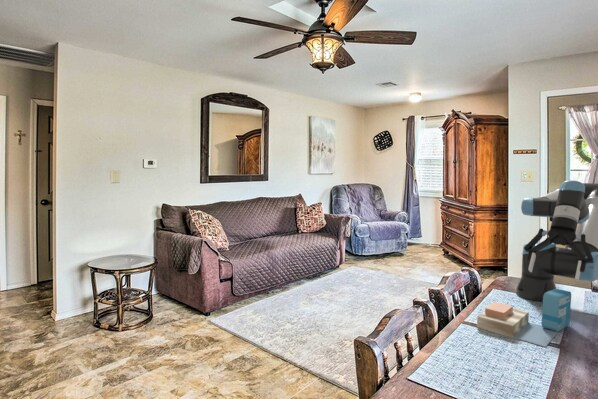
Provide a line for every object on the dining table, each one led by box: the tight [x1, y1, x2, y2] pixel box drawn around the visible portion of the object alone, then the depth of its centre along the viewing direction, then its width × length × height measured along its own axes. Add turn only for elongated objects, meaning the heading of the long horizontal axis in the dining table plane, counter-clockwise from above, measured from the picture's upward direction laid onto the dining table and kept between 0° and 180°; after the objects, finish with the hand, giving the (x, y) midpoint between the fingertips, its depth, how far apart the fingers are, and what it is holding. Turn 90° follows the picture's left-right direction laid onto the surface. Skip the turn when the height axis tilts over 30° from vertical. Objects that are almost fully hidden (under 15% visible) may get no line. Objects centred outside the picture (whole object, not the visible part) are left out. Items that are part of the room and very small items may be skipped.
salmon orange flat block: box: [484, 301, 514, 319], centre depth 130 cm, size 9×6×2 cm, turn 134°
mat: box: [512, 321, 560, 348], centre depth 122 cm, size 17×9×1 cm, turn 134°
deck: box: [476, 307, 530, 339], centre depth 129 cm, size 17×11×4 cm, turn 134°
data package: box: [541, 288, 572, 333], centre depth 127 cm, size 12×4×12 cm, turn 127°
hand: (552, 275), depth 129 cm, fingers open, 13 cm apart
